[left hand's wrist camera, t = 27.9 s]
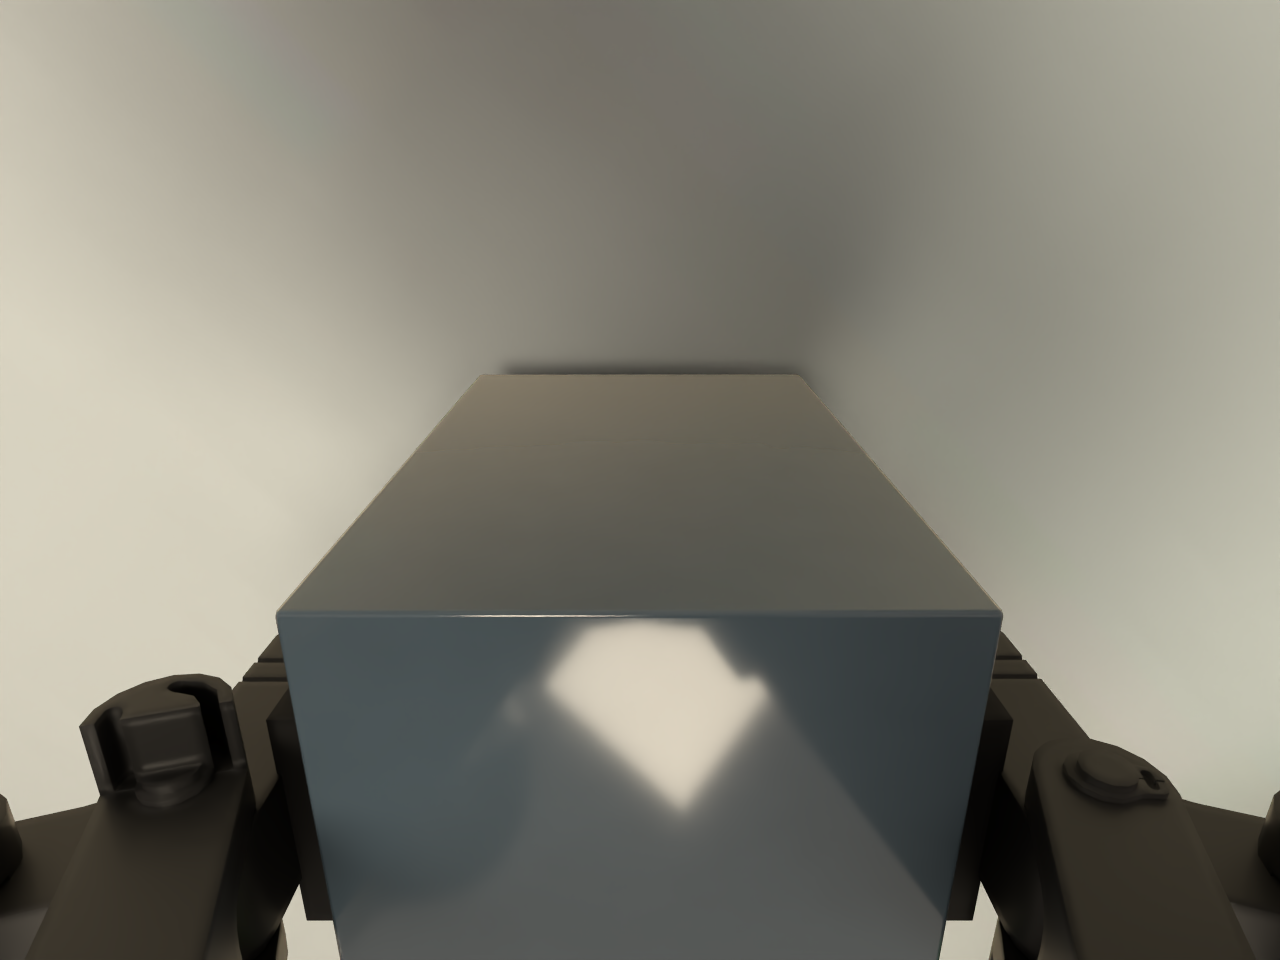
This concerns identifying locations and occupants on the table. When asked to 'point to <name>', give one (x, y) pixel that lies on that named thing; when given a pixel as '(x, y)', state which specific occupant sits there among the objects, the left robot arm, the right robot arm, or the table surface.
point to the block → (639, 685)
